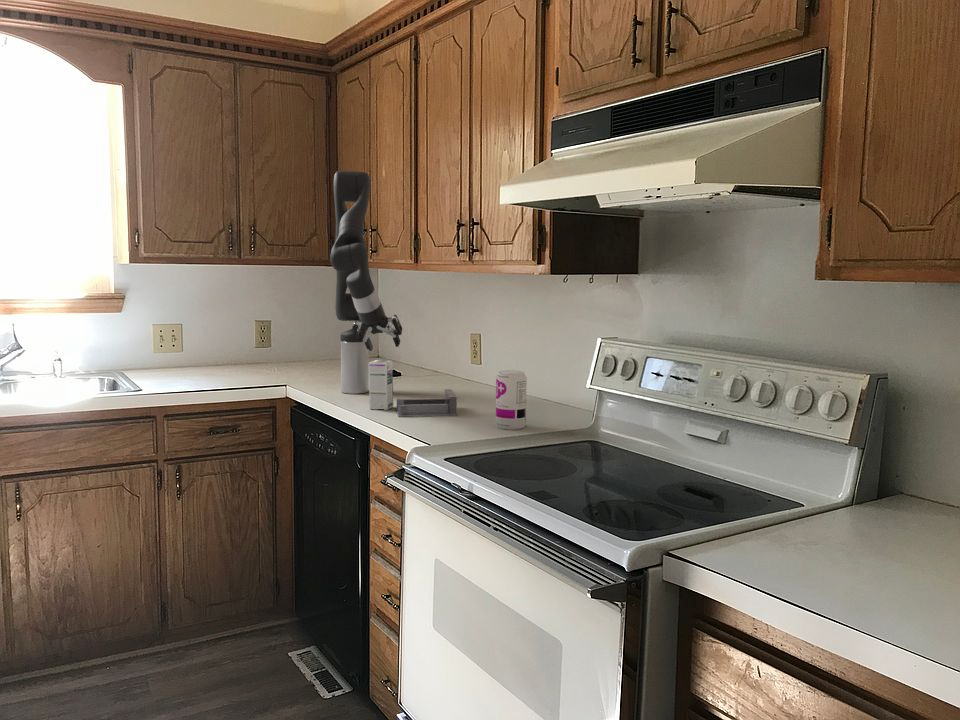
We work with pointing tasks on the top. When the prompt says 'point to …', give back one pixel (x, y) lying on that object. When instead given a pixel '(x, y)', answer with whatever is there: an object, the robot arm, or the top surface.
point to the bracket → (429, 406)
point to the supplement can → (511, 399)
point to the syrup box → (381, 384)
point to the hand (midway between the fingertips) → (384, 347)
